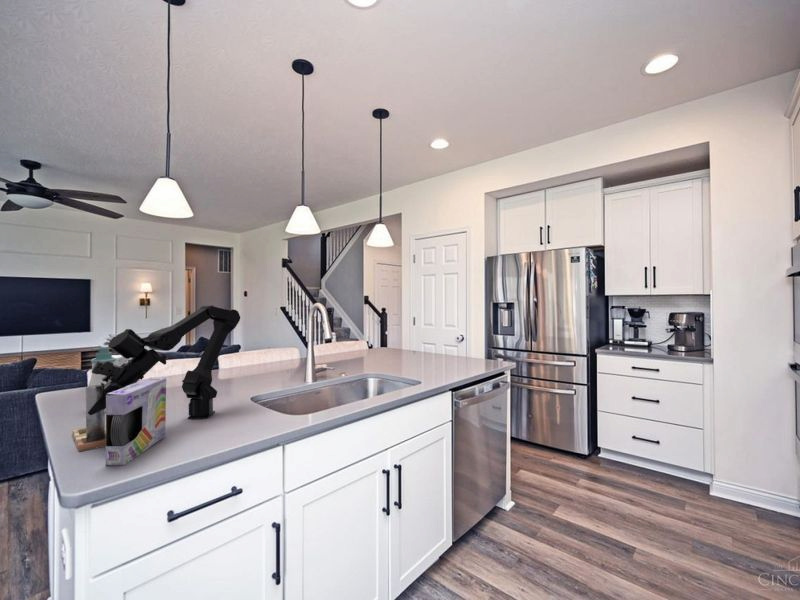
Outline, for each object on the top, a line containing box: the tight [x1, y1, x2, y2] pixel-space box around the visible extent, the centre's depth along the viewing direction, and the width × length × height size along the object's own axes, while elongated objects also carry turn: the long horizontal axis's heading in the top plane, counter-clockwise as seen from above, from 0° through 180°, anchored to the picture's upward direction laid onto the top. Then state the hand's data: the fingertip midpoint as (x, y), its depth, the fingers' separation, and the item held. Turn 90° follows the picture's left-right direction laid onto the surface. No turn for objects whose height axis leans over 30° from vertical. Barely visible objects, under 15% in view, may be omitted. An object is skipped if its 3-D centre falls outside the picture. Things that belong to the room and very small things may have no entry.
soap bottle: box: [88, 346, 116, 413], centre depth 133 cm, size 10×10×23 cm
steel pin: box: [85, 385, 106, 443], centre depth 101 cm, size 4×4×15 cm
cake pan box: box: [104, 376, 167, 466], centre depth 95 cm, size 19×5×18 cm, turn 4°
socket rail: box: [72, 424, 106, 452], centre depth 104 cm, size 18×8×2 cm, turn 46°
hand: (89, 412), depth 100 cm, fingers closed on steel pin, 4 cm apart
